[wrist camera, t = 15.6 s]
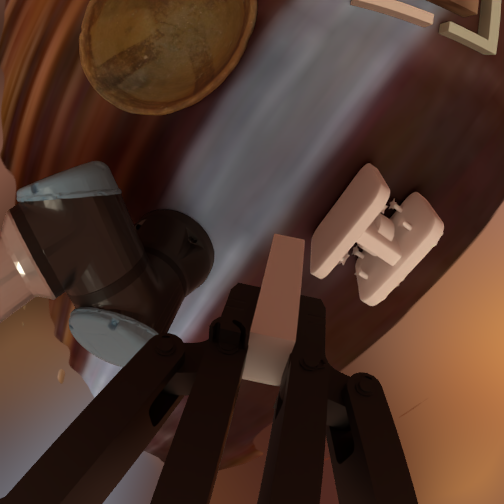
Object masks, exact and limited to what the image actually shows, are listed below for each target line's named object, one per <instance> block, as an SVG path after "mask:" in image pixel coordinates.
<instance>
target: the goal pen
mask: <svg viewBox="0 0 504 504" xmlns="http://www.w3.org/2000/svg"><path fill="white" fill-rule="evenodd" d="M500 12H501V0H481V7H480V18H479V28H478V35H477V34H475V33H473V32H471V31H469V30H467V29H465V28H463V27H461V26H459V25H457V24H455V23H453V22H450V21H449V22H446V23H442V24H440V28H439V34H441V35H443V36H446V37H448V38H450V39H453V40H455V41H457V42H459V43H461V44H463V45H466V46H468V47H470V48H472V49H474V50H476V51H478V52H480V53H482V54H483V55H496V50H497V43H498V34H499V24H500Z"/></svg>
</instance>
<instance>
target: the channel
mask: <svg viewBox="0 0 504 504" xmlns="http://www.w3.org/2000/svg"><path fill="white" fill-rule="evenodd" d="M351 5H353V6H357V7H361V8H365V9H369V10H372V11H376V12H379V13H383V14H386V15H389V16H392V17H396V18H399V19H402V20H404V21H407V22H410V23H413V24H416V25H418V26H421V27H427V26H430V25H433V18H434V14H432V13H429V12H427V11H424V10H421V9H419V8H416V7H413V6H411V5H408V4H405V3H402V2H399V1H396V0H351Z"/></svg>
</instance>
